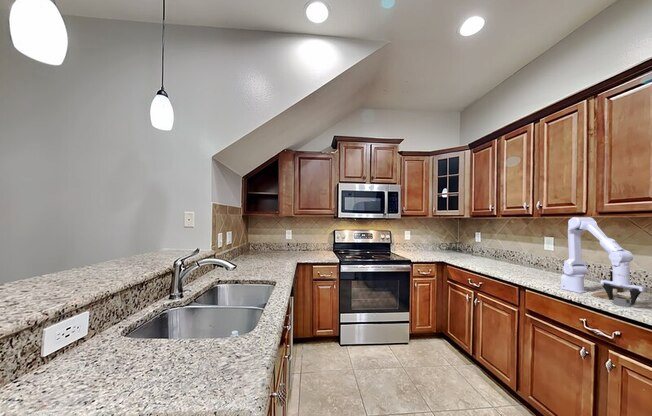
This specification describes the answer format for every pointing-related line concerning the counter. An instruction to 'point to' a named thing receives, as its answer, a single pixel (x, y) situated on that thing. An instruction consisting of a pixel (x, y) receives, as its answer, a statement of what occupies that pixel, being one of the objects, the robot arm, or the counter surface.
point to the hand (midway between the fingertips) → (621, 301)
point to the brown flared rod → (619, 289)
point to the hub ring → (621, 301)
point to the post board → (605, 296)
